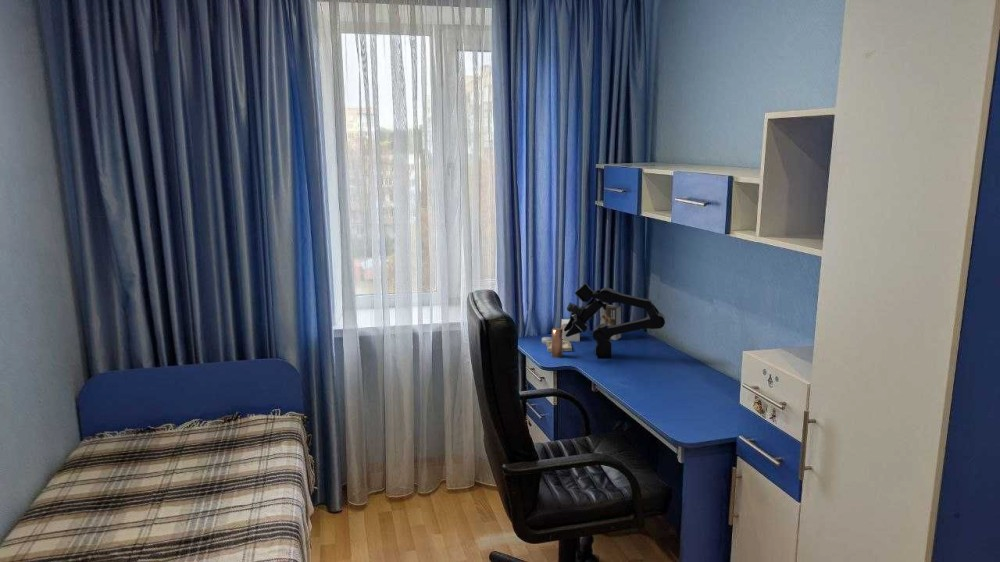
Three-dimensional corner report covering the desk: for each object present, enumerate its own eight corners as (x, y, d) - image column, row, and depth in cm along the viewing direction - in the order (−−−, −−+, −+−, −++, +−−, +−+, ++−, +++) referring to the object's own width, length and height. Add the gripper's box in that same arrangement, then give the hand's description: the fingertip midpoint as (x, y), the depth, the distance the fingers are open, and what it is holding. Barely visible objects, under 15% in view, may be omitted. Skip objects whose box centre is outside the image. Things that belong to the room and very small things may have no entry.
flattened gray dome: (551, 341, 329) (551, 336, 328) (552, 344, 324) (552, 339, 324) (541, 341, 329) (541, 337, 328) (542, 344, 324) (542, 339, 323)
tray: (569, 344, 323) (569, 341, 323) (571, 351, 312) (572, 347, 312) (546, 344, 323) (546, 341, 323) (548, 351, 312) (548, 348, 312)
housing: (577, 336, 336) (577, 319, 334) (579, 341, 328) (579, 323, 327) (560, 336, 336) (560, 319, 334) (562, 341, 328) (562, 323, 327)
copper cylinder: (561, 354, 308) (562, 327, 306) (562, 357, 303) (563, 330, 301) (551, 354, 308) (551, 327, 306) (552, 357, 303) (552, 330, 301)
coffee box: (621, 337, 334) (622, 305, 331) (616, 340, 329) (616, 308, 326) (604, 334, 339) (605, 303, 336) (599, 337, 334) (599, 306, 331)
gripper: (575, 292, 310) (551, 316, 312) (579, 301, 292) (554, 326, 294) (592, 309, 311) (568, 332, 314) (597, 319, 293) (571, 344, 295)
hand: (565, 333), depth 304 cm, fingers open, 9 cm apart
